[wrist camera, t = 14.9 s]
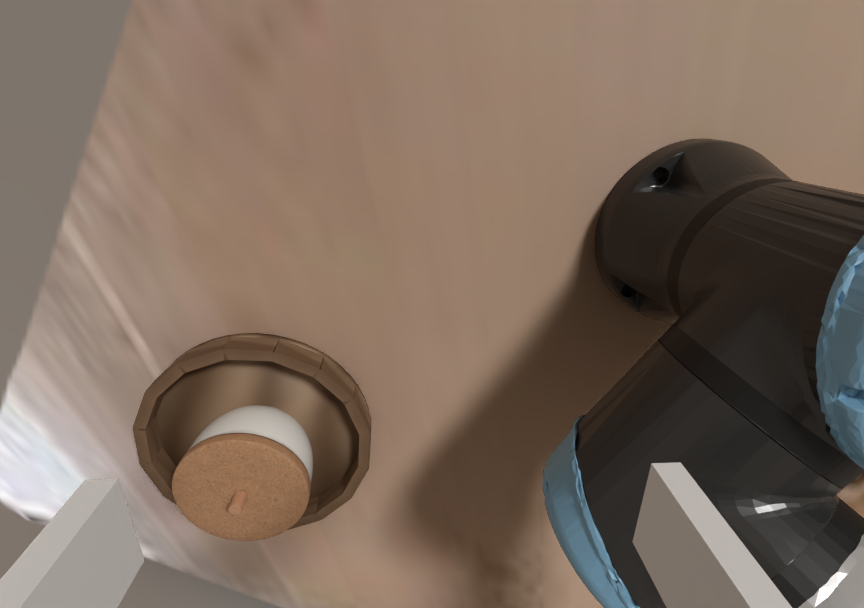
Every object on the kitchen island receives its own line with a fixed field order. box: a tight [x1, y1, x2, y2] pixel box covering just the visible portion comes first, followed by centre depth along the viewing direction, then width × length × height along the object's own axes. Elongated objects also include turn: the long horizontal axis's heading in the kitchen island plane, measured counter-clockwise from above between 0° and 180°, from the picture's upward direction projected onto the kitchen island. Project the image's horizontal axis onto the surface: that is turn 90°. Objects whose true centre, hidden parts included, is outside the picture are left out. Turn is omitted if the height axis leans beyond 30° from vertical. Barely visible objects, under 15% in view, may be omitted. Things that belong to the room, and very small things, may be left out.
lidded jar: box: [172, 405, 313, 541], centre depth 41 cm, size 11×11×9 cm
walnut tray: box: [133, 333, 371, 530], centre depth 45 cm, size 21×21×3 cm
